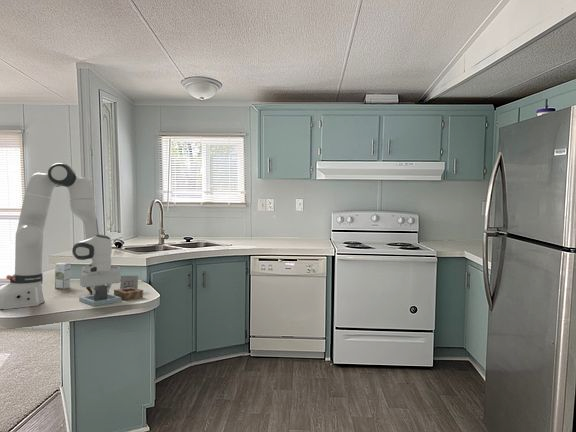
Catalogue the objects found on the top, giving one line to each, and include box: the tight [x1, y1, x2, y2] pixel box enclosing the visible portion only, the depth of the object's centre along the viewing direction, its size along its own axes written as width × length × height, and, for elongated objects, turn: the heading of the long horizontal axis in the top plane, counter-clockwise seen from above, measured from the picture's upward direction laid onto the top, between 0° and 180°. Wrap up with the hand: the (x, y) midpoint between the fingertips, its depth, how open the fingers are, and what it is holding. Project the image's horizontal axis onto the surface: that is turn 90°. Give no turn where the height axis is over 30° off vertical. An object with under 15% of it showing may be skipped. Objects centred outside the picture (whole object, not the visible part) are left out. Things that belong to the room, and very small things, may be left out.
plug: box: [93, 284, 108, 301], centre depth 207 cm, size 4×4×8 cm
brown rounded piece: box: [85, 287, 93, 295], centre depth 223 cm, size 8×8×12 cm
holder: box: [113, 287, 144, 301], centre depth 218 cm, size 10×10×4 cm
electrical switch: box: [119, 275, 139, 289], centre depth 232 cm, size 9×5×9 cm, turn 102°
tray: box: [78, 293, 122, 307], centre depth 207 cm, size 14×14×2 cm
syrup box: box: [54, 261, 71, 290], centre depth 233 cm, size 6×6×14 cm
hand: (100, 293), depth 207 cm, fingers open, 5 cm apart
